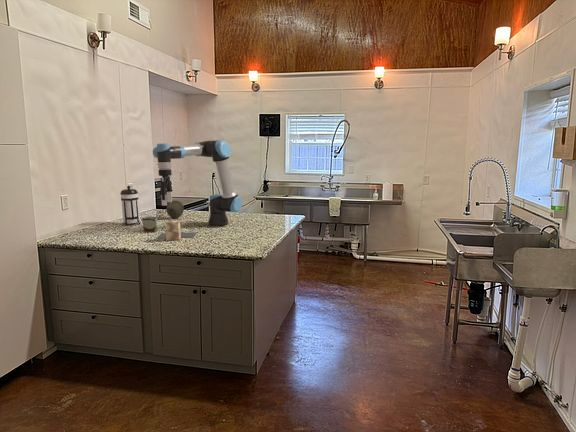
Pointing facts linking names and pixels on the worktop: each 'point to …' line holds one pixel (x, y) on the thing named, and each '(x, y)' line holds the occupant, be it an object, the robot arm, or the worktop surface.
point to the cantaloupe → (175, 209)
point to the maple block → (173, 231)
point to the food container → (149, 224)
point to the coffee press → (130, 206)
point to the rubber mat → (183, 235)
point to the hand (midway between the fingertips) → (167, 203)
